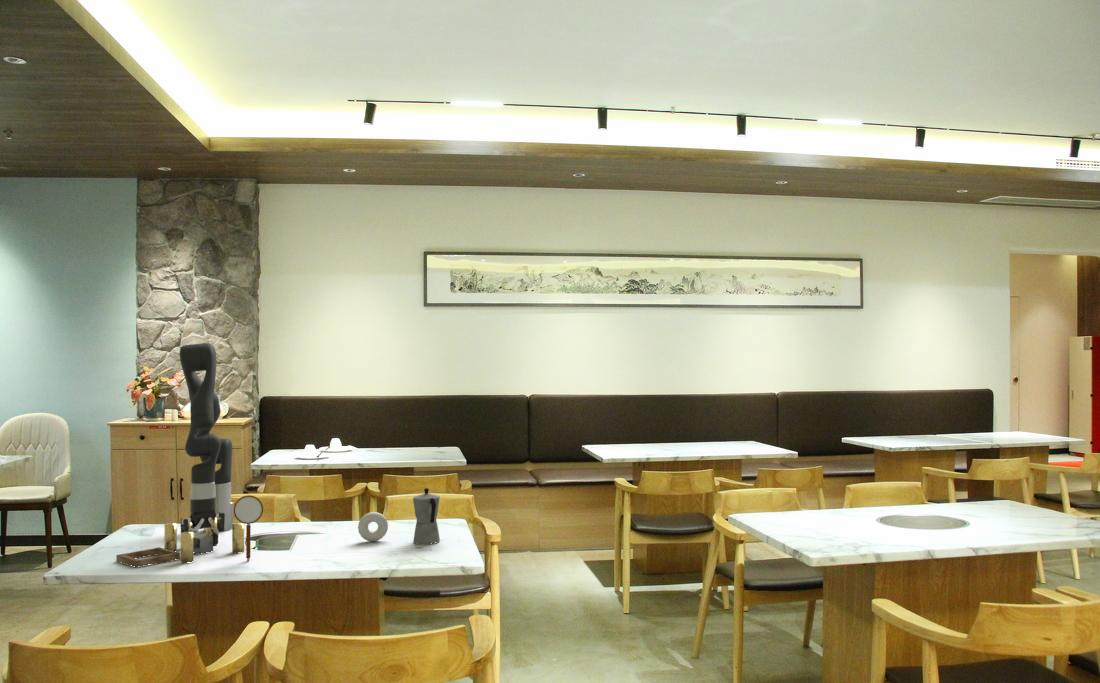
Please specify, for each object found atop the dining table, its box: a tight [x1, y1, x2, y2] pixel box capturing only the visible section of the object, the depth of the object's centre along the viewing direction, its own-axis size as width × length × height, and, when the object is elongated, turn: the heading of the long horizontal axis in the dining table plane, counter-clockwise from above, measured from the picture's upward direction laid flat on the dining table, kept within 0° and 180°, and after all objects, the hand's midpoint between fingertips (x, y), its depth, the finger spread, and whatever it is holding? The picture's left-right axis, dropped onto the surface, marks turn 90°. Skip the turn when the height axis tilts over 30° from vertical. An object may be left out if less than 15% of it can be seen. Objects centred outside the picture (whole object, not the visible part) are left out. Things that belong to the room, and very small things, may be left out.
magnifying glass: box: [233, 494, 264, 562], centre depth 249 cm, size 9×2×20 cm, turn 99°
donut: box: [357, 511, 389, 542], centre depth 276 cm, size 10×4×10 cm, turn 103°
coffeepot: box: [412, 487, 441, 545], centre depth 274 cm, size 15×9×18 cm, turn 26°
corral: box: [115, 546, 181, 568], centre depth 251 cm, size 13×13×2 cm
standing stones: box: [163, 518, 245, 564], centre depth 261 cm, size 22×23×9 cm
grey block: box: [193, 534, 214, 555], centre depth 262 cm, size 4×4×5 cm
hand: (202, 548), depth 262 cm, fingers open, 7 cm apart
